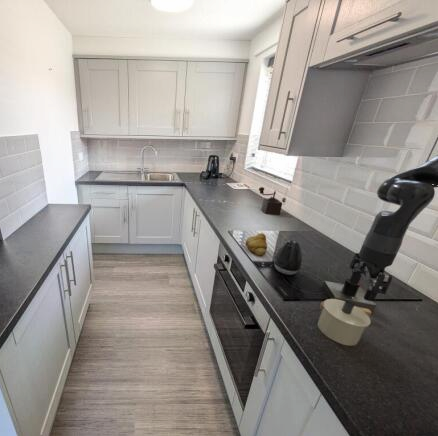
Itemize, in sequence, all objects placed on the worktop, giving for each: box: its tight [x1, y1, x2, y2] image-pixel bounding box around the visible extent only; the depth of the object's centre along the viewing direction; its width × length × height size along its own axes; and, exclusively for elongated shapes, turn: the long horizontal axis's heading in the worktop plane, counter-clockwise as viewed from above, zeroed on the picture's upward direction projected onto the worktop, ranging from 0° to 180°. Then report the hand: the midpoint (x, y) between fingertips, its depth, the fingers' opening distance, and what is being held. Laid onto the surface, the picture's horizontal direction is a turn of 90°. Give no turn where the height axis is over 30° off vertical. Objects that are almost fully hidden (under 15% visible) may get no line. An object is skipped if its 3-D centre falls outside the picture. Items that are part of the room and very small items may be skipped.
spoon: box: [319, 301, 373, 319], centre depth 78 cm, size 14×4×3 cm, turn 73°
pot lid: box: [323, 298, 372, 328], centre depth 68 cm, size 11×11×4 cm
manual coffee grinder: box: [258, 186, 283, 216], centre depth 172 cm, size 16×11×18 cm
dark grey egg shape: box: [273, 239, 303, 276], centre depth 98 cm, size 10×10×15 cm
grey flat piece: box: [321, 280, 377, 313], centre depth 85 cm, size 12×10×3 cm
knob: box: [342, 278, 361, 296], centre depth 84 cm, size 4×4×5 cm
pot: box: [316, 307, 367, 347], centre depth 70 cm, size 10×10×7 cm
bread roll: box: [245, 233, 268, 256], centre depth 116 cm, size 13×10×8 cm
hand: (360, 291), depth 74 cm, fingers open, 8 cm apart
